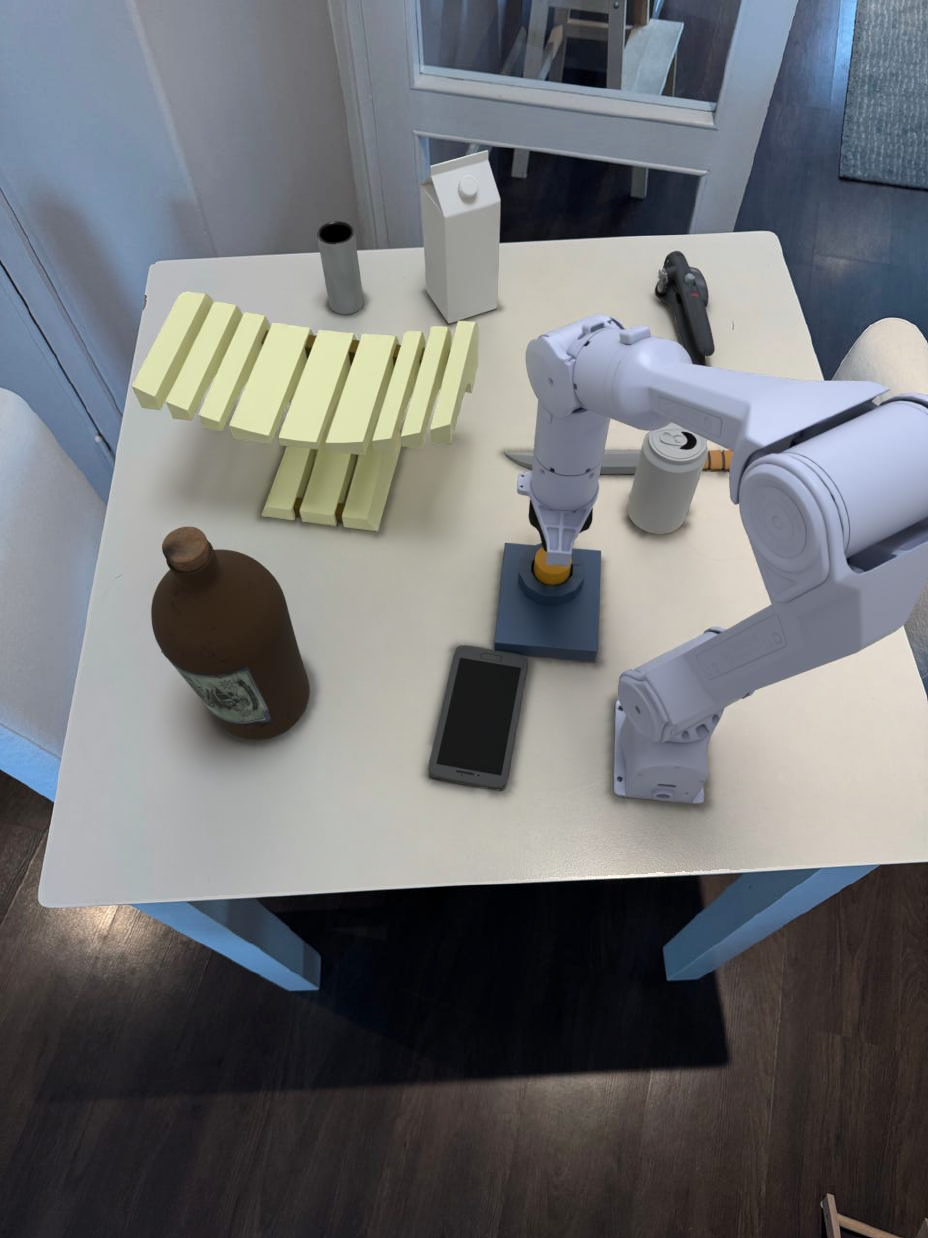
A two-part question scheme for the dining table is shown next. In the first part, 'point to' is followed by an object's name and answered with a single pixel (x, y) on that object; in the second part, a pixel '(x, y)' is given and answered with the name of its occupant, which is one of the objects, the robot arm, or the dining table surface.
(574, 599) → the button housing
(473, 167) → the milk carton
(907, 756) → the dining table surface
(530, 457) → the knife
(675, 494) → the beverage can
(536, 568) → the trigger button
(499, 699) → the cell phone
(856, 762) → the dining table surface
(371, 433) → the slatted curved stool
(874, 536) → the robot arm
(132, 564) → the dining table surface
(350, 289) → the gray cylinder
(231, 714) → the brown bottle
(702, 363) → the can opener
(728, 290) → the dining table surface
